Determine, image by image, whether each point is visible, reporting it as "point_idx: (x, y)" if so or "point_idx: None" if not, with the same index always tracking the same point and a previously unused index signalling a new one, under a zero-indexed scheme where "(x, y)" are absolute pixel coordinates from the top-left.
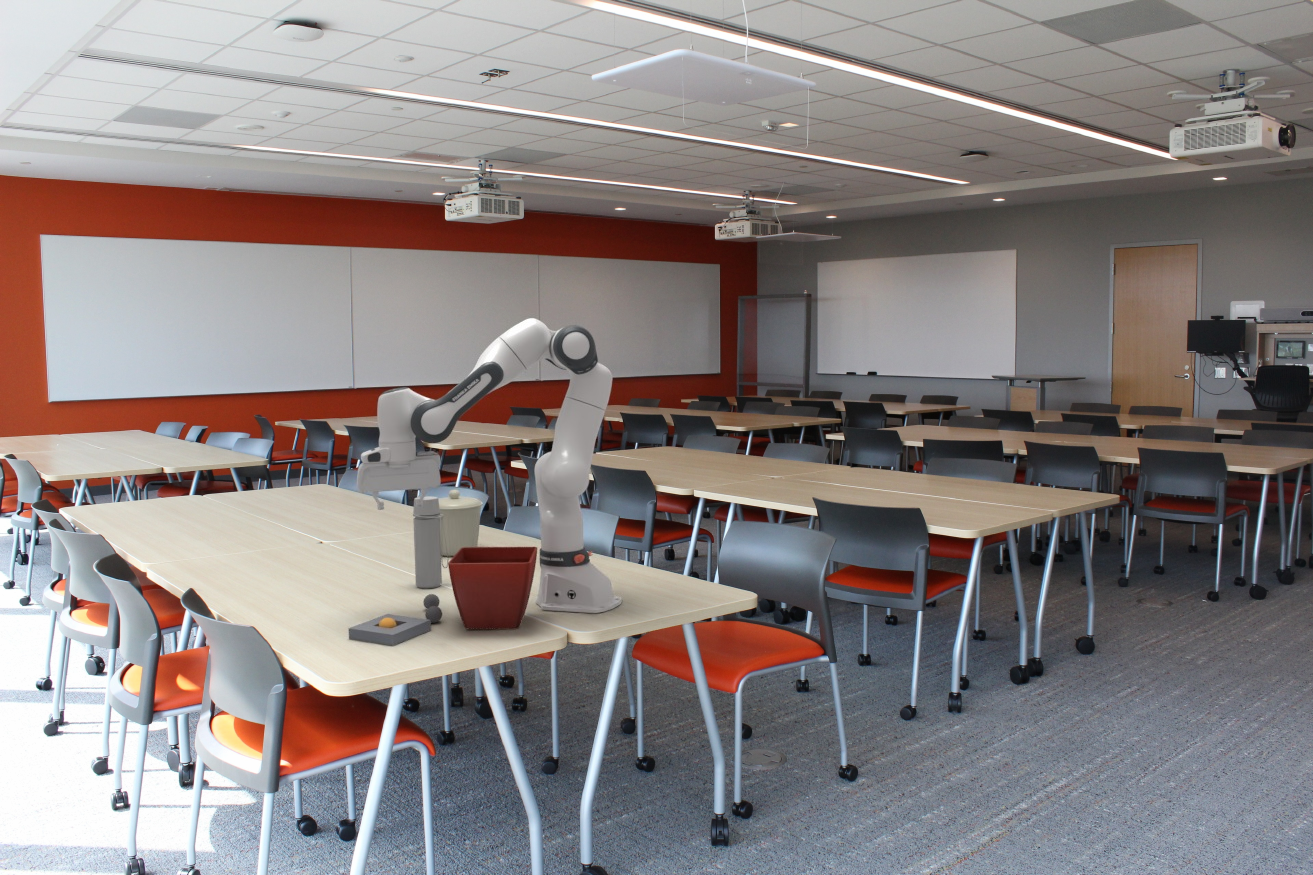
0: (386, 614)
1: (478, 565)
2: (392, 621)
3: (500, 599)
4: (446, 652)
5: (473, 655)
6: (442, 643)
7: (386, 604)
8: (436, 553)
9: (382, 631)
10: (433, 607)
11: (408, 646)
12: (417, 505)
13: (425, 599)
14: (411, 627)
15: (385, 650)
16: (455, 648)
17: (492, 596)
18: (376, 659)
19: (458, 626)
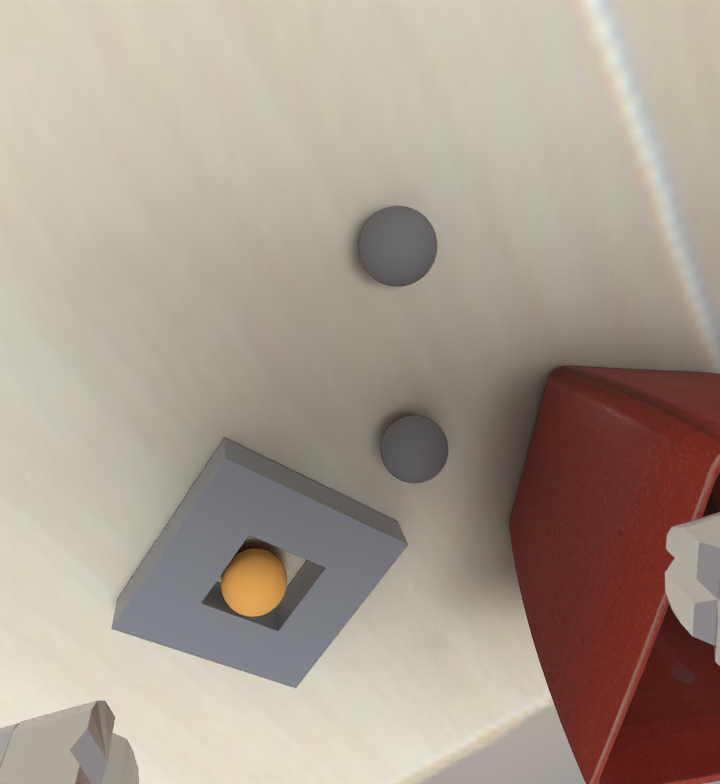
0: (222, 468)
1: (702, 772)
2: (277, 604)
3: (676, 626)
4: (446, 700)
5: (510, 715)
6: (435, 638)
7: (133, 76)
8: None
9: (253, 659)
10: (423, 474)
11: (338, 662)
12: (685, 621)
13: (375, 272)
14: (347, 620)
15: (274, 693)
16: (470, 673)
17: (659, 638)
18: (263, 752)
19: (488, 486)
